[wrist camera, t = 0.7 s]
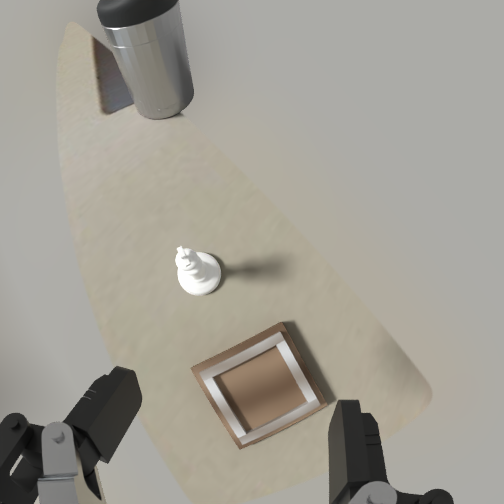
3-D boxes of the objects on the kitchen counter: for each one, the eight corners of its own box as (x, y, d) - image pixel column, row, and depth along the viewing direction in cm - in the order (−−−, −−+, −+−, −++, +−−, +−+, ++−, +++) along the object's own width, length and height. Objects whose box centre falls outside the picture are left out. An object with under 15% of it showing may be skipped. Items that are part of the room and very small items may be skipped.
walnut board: (192, 366, 30) (189, 369, 28) (280, 321, 32) (283, 322, 30) (239, 444, 28) (239, 452, 26) (324, 401, 30) (329, 406, 28)
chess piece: (208, 245, 34) (195, 214, 24) (228, 282, 33) (223, 265, 23) (171, 265, 33) (143, 243, 23) (190, 303, 32) (169, 295, 22)
